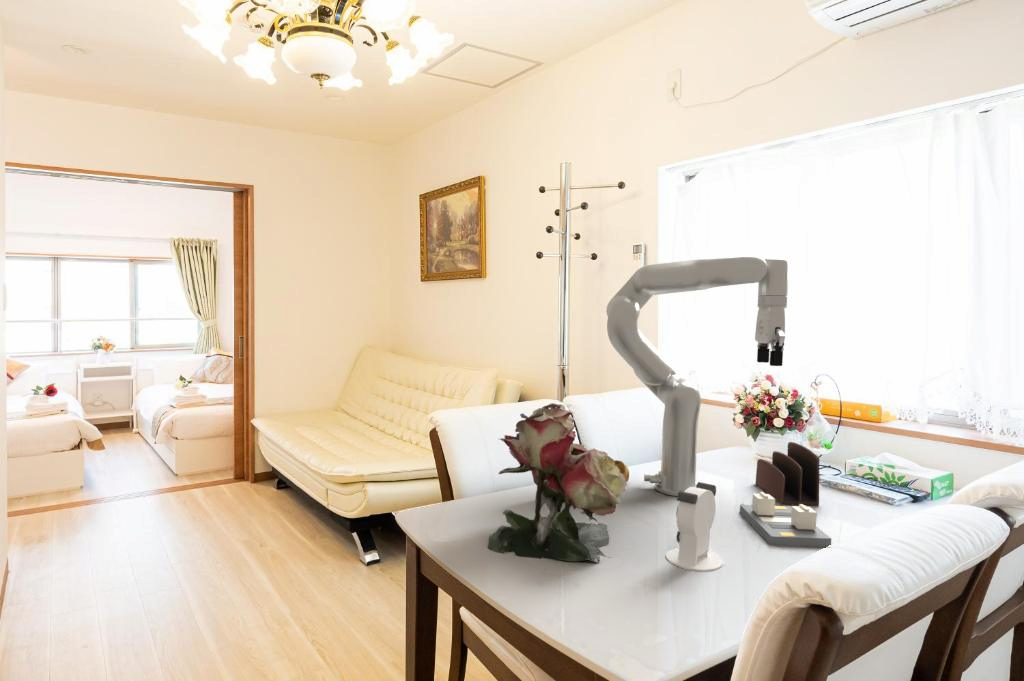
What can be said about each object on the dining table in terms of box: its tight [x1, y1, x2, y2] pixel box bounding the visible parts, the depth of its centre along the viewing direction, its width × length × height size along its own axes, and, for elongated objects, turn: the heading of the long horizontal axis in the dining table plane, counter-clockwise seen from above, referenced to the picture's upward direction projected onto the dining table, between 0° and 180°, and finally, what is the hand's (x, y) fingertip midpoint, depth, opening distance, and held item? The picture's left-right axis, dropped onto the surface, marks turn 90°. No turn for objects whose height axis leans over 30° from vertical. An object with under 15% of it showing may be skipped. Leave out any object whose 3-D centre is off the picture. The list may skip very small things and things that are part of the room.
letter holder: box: [755, 441, 820, 507], centre depth 179 cm, size 10×20×14 cm, turn 179°
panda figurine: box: [665, 481, 724, 572], centre depth 132 cm, size 12×11×15 cm
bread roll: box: [614, 460, 630, 483], centre depth 187 cm, size 13×10×8 cm
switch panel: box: [739, 504, 832, 548], centre depth 152 cm, size 13×22×2 cm, turn 178°
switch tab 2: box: [791, 504, 818, 530], centre depth 147 cm, size 4×4×5 cm
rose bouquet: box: [486, 402, 627, 564], centre depth 142 cm, size 26×29×30 cm
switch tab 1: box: [751, 491, 776, 515], centre depth 156 cm, size 4×4×5 cm
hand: (769, 364), depth 178 cm, fingers open, 9 cm apart
